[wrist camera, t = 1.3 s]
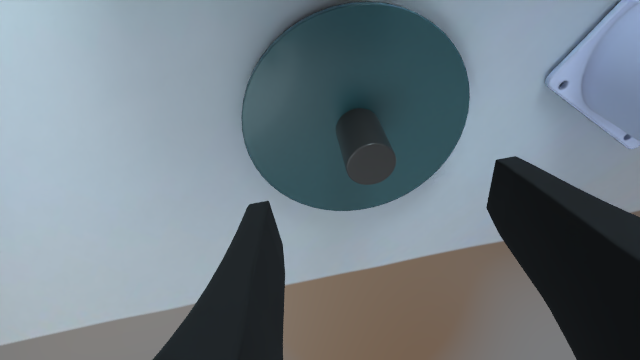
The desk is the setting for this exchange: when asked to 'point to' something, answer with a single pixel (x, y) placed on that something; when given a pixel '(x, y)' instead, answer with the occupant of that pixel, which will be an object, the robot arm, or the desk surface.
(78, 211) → the desk surface
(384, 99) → the lid
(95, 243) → the desk surface
